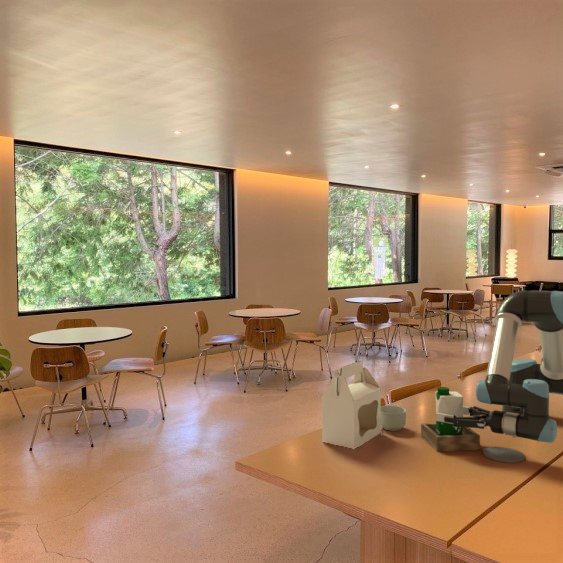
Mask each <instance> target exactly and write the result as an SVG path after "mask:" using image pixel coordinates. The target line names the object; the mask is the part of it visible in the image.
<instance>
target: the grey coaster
mask: <svg viewBox="0 0 563 563" xmlns="http://www.w3.org/2000/svg"><path fill="white" fill-rule="evenodd" d="M482 453H483V454H484V455H485V456H486V457H485V456H484V455H483V456H484V457H485V458H487V457H488V458H487V459H489V458H490V459H489V460H492V461H495V462H499V463H510V464H515V463H521V462H524V461H525V459H526V456H525V454H524V453H523V452H521V451H519V450H517V449H515V448H510V447H509V448H508V447H505V446H504V447H503V446H491V447H485V448H484V449H483V450H482Z"/></svg>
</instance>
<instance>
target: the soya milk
mask: <svg viewBox="0 0 563 563" xmlns="http://www.w3.org/2000/svg"><path fill="white" fill-rule="evenodd" d="M463 406H464V395H462V394H460V393H459V392H458V391H450V388H449V387H445V386H439V387H437V391H435V414H436V413H441V414H447V415H452V416H454V415H455V416H456V417H464V414H463ZM435 423H436V434H437V435H439V436H448V435H463V427H454V426H453V424H450V423H445V422H440V421H436V420H435ZM457 423H458V422H457Z"/></svg>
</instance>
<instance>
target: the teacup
mask: <svg viewBox="0 0 563 563" xmlns="http://www.w3.org/2000/svg"><path fill="white" fill-rule="evenodd" d="M406 419H407V409H406V408H404V407H402V406H399V405H394V404H393V405H391V404H389V405H386V404H385V405H382V406H381V428H383V429H384V430H386V431H388V430H389V431H388V432H399V431H401V429H403V428H404V427H405V425H406Z"/></svg>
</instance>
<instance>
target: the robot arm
mask: <svg viewBox="0 0 563 563" xmlns="http://www.w3.org/2000/svg"><path fill="white" fill-rule="evenodd" d="M494 314H495V315H494V318H493V321H494V324H495V329H494V333H493V339H492V344H491V349H490V354H489V359H488V365H487V369H486V374H485V380H484V379H483V380H478V381H477V384H476V388H475V396H476V400H477V401H478V402H480V403H483V404H488V405H496V406H502V407H501V410H493V411H490V410H488V409H484V408H481V407H478V406H477V405H476V406H475V405H474V406H473V407H472V406H470V407H469V406H464V405H463V415H466V416H463V417H456V416H455V415H454V416H452V415H447V414H441V413H436V412H435V422H436V421H440V422H445V423H450V424H453V426H454V427H468V428H470V429H481V430H484V429H485V428H487V427H489V428H490V431H491V432H492V433H493V434H499V435H506V436H511V437H512V438H515V439H516V437H517V438H522V439H525V440H531V441H536V442H538V443H549V444H552V443H554V442H555V441H556V439H557V436H558V434H557V433H558V424H557V421H556V420H555V419H552V418H550V394H553V395H554V394H555V395H561V396H563V291H559V290H519V291H516V292H513V293H510V294H509V295H508V296H507V297H506V298H504V299H503V300H502V302H501V303H500V304H499V305H498V307H497V309H496V311H495V313H494ZM523 322H528V323H529V322H530V323H533V324H534V326H535V328H536V329H537V330H539V338H540V345H541V354H542V360H543V361H542V362H541V363H538V362H537V360H536V359H533V358H532V359H531V358H521V359H514V355H515V350H516V349H515V348H516V343H517V337H518V330H519V329H520V328H521V326H522V324H523ZM457 422H458V423H457Z"/></svg>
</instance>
